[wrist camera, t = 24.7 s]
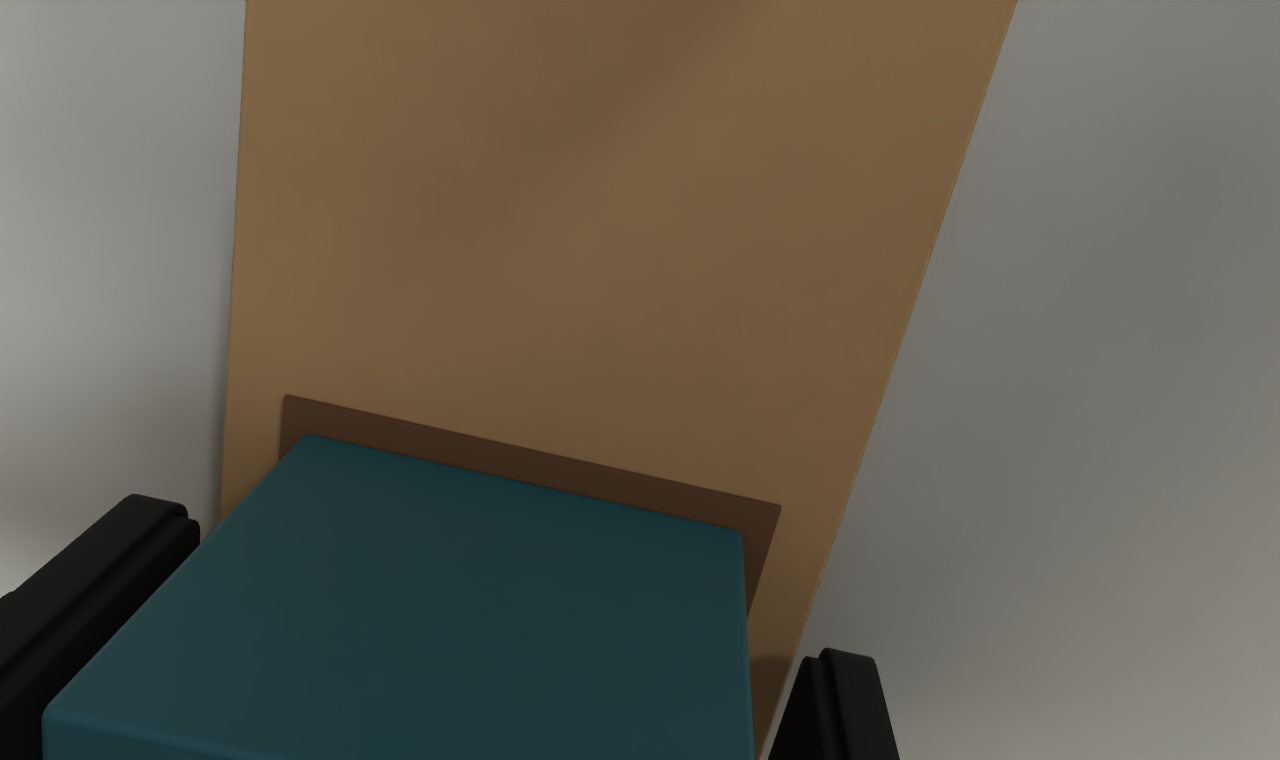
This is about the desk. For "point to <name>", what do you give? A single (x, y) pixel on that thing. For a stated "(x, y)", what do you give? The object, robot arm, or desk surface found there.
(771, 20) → the word mat
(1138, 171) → the desk surface
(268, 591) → the teal letter i cube
